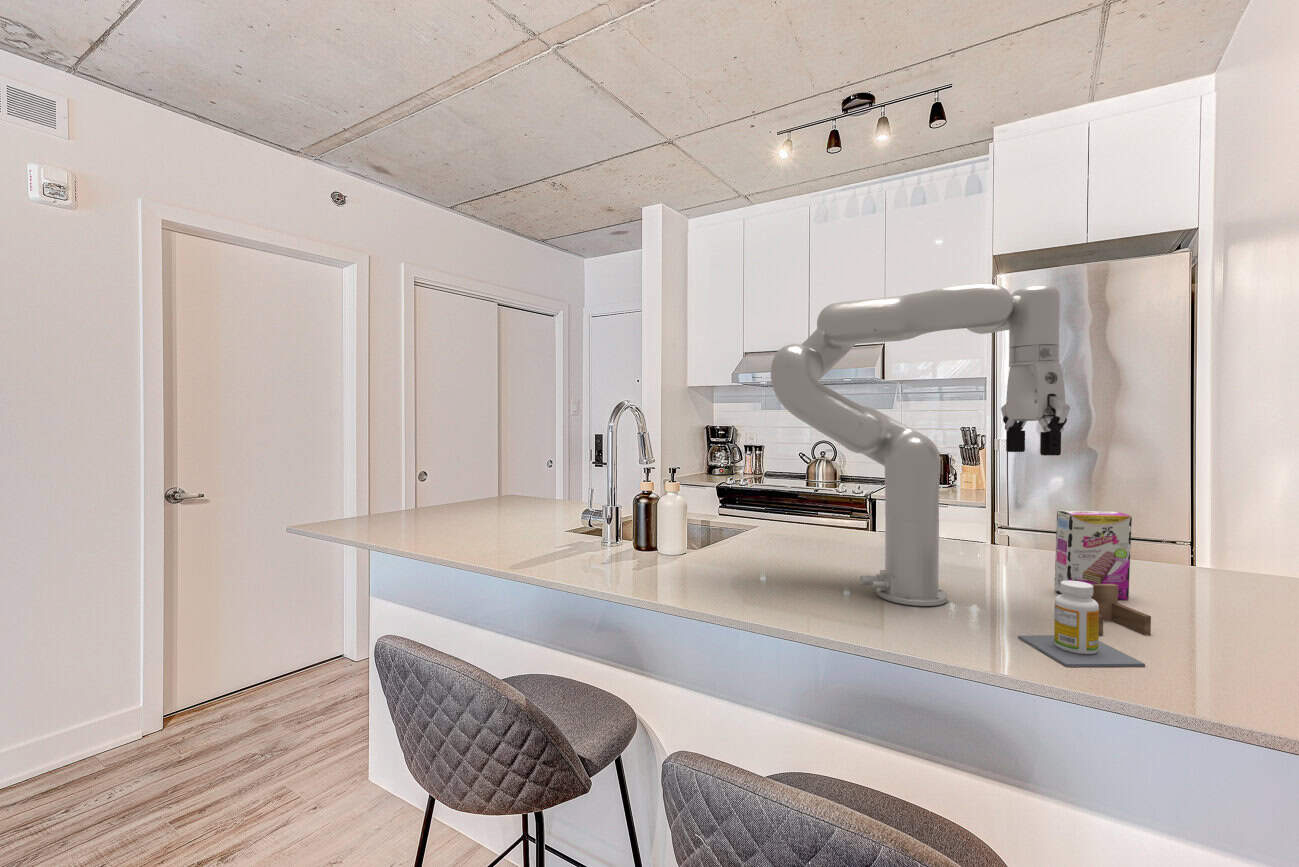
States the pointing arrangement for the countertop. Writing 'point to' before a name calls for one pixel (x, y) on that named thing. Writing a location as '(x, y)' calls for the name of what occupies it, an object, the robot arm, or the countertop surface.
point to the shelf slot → (1118, 610)
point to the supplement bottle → (1076, 618)
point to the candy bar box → (1093, 549)
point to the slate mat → (1102, 658)
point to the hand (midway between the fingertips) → (1032, 453)
